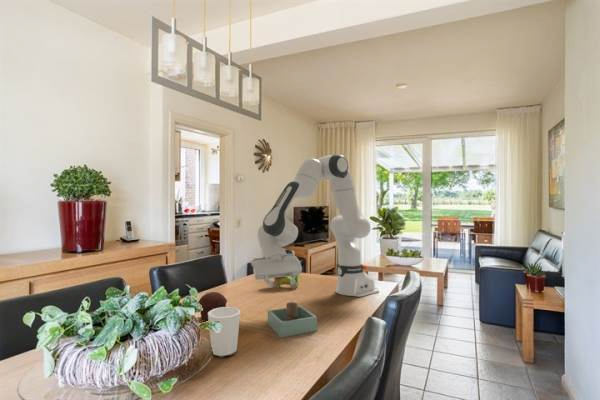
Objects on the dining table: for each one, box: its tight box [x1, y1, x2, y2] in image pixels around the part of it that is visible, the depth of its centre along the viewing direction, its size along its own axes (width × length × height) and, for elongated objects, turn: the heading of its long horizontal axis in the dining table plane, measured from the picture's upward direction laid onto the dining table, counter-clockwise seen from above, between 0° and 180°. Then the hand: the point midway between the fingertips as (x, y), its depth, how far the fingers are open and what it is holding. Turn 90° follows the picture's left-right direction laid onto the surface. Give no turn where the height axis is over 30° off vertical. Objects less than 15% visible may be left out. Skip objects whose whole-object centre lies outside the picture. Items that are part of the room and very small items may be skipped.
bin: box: [267, 305, 318, 338], centre depth 123 cm, size 14×14×5 cm
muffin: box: [198, 291, 228, 322], centre depth 132 cm, size 12×11×10 cm
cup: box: [208, 306, 241, 359], centre depth 102 cm, size 10×10×13 cm
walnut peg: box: [285, 301, 298, 321], centre depth 123 cm, size 4×4×8 cm
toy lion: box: [272, 275, 299, 290], centre depth 178 cm, size 16×6×15 cm, turn 77°
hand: (282, 285), depth 132 cm, fingers open, 8 cm apart
